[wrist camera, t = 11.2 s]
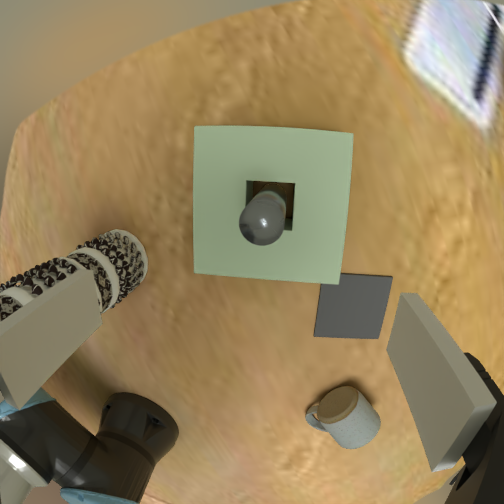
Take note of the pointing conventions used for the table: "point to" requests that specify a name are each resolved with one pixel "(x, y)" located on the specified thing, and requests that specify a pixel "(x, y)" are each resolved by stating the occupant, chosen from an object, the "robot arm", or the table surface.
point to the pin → (264, 216)
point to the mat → (353, 306)
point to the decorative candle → (90, 258)
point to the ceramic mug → (346, 417)
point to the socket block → (241, 193)
